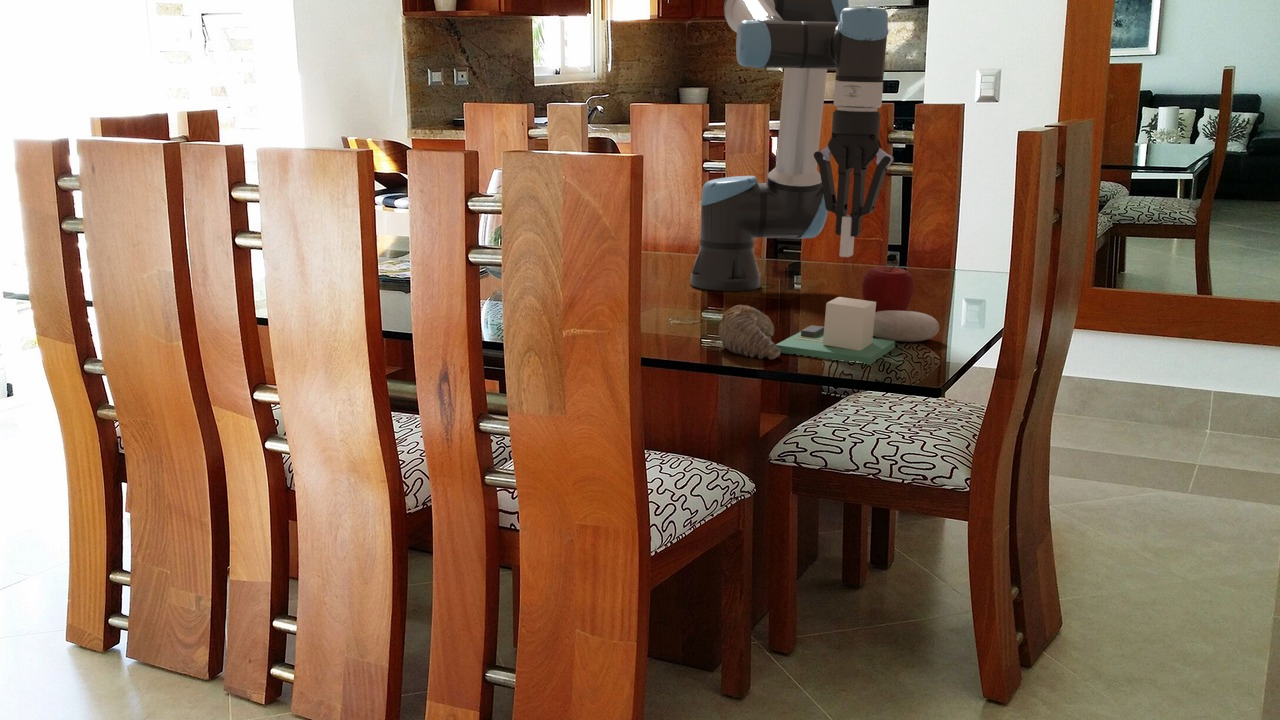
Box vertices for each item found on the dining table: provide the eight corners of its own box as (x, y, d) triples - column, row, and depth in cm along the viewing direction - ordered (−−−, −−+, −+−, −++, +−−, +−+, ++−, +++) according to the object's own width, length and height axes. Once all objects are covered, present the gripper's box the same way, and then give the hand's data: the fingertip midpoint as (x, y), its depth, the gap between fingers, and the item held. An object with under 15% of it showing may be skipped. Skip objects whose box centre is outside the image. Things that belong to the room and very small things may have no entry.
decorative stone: (860, 342, 190) (862, 314, 189) (865, 331, 199) (867, 304, 197) (936, 349, 187) (939, 320, 186) (938, 337, 195) (941, 310, 194)
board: (774, 352, 182) (776, 326, 181) (804, 336, 194) (805, 312, 193) (870, 365, 174) (872, 339, 173) (894, 347, 186) (896, 323, 185)
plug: (822, 344, 181) (826, 302, 180) (835, 336, 187) (839, 296, 185) (860, 350, 179) (864, 308, 177) (872, 342, 184) (876, 301, 183)
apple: (881, 324, 204) (885, 271, 202) (849, 314, 213) (853, 263, 210) (921, 320, 209) (925, 268, 206) (888, 311, 217) (892, 260, 214)
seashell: (744, 362, 191) (723, 308, 190) (798, 343, 187) (777, 288, 186) (722, 378, 178) (699, 320, 178) (778, 358, 174) (756, 299, 174)
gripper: (810, 108, 176) (800, 254, 182) (890, 112, 170) (878, 263, 177) (825, 106, 182) (816, 248, 189) (903, 110, 177) (891, 256, 183)
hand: (846, 255), depth 183 cm, fingers closed
